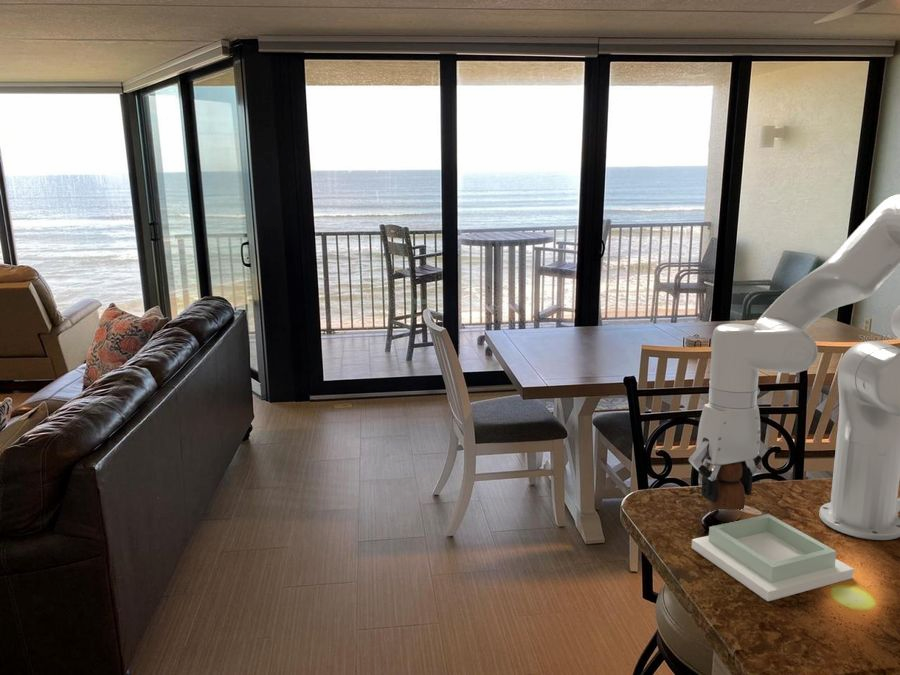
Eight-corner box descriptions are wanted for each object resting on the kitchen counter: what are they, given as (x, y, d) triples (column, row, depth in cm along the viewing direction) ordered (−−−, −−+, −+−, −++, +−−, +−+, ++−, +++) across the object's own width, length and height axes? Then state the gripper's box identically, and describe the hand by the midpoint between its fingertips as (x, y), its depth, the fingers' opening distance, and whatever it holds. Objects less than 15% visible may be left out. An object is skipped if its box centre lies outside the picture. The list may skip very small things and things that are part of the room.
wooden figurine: (746, 529, 115) (752, 445, 112) (710, 526, 116) (715, 444, 113) (738, 511, 122) (743, 432, 119) (704, 509, 123) (709, 430, 120)
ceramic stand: (769, 529, 115) (771, 508, 114) (853, 578, 100) (855, 553, 99) (691, 547, 109) (692, 525, 109) (767, 601, 95) (769, 575, 94)
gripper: (756, 386, 121) (749, 479, 124) (675, 397, 115) (670, 495, 119) (790, 397, 114) (781, 496, 117) (705, 409, 108) (699, 513, 112)
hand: (726, 494), depth 118 cm, fingers closed on wooden figurine, 6 cm apart
